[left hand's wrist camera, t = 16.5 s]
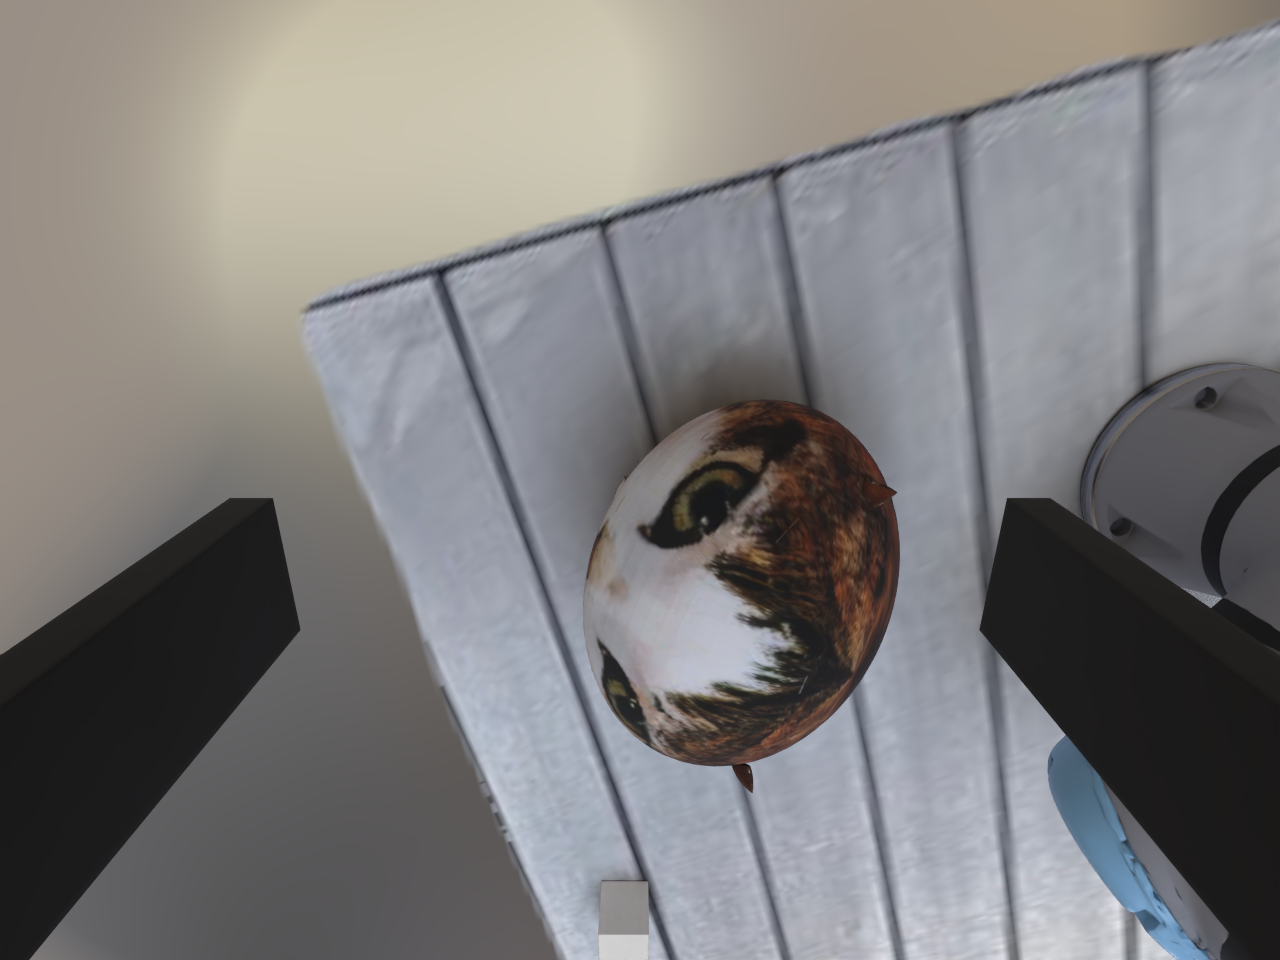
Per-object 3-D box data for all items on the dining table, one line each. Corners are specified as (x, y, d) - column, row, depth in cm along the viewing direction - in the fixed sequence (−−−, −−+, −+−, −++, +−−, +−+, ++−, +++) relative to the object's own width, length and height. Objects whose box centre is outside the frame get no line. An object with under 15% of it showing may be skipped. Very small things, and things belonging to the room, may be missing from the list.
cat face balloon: (563, 317, 38) (856, 475, 25) (756, 360, 50) (1020, 481, 37) (468, 644, 45) (659, 900, 32) (657, 612, 57) (851, 788, 44)
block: (601, 880, 61) (598, 935, 57) (648, 880, 61) (648, 934, 57) (602, 914, 63) (599, 969, 58) (647, 914, 63) (648, 969, 58)
